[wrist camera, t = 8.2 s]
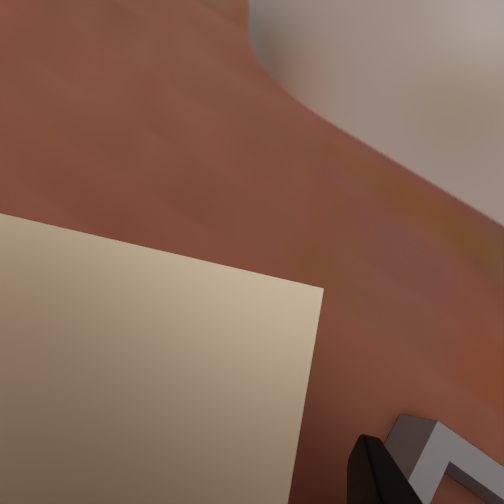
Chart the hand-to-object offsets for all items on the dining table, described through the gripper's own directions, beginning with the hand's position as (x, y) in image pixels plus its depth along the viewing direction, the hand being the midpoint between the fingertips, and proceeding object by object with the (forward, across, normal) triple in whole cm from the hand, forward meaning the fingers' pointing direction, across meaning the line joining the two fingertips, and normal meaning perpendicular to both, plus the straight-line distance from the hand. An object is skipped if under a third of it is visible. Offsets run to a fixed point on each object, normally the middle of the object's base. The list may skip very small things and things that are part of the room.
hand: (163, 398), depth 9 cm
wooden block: (+7, 0, +7) cm, 10 cm away
